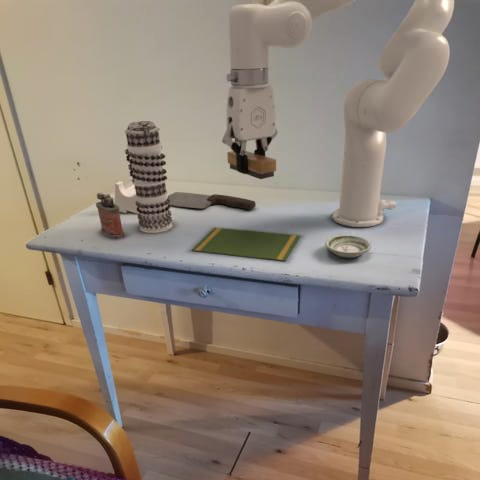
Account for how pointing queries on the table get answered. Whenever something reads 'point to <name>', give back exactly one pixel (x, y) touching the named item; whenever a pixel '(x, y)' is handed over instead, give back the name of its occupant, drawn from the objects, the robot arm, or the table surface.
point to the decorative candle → (148, 176)
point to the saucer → (348, 245)
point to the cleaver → (208, 200)
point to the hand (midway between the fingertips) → (251, 170)
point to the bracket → (125, 198)
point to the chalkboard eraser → (255, 164)
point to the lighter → (109, 217)
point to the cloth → (248, 244)
